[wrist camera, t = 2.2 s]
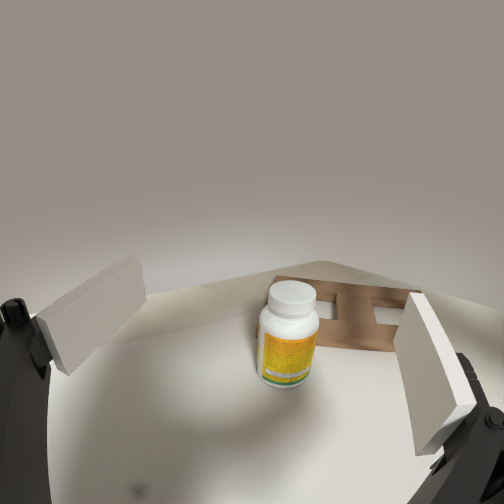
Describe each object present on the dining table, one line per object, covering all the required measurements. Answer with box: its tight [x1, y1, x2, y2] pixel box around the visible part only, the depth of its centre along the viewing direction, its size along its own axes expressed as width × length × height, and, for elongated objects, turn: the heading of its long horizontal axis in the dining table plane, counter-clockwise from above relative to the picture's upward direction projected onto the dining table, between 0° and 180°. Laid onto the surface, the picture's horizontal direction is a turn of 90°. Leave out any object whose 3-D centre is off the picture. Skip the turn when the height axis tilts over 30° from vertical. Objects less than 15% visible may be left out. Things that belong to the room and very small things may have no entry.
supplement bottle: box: [257, 280, 319, 389], centre depth 25 cm, size 5×5×10 cm
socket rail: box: [256, 276, 421, 352], centre depth 36 cm, size 24×14×2 cm, turn 76°
